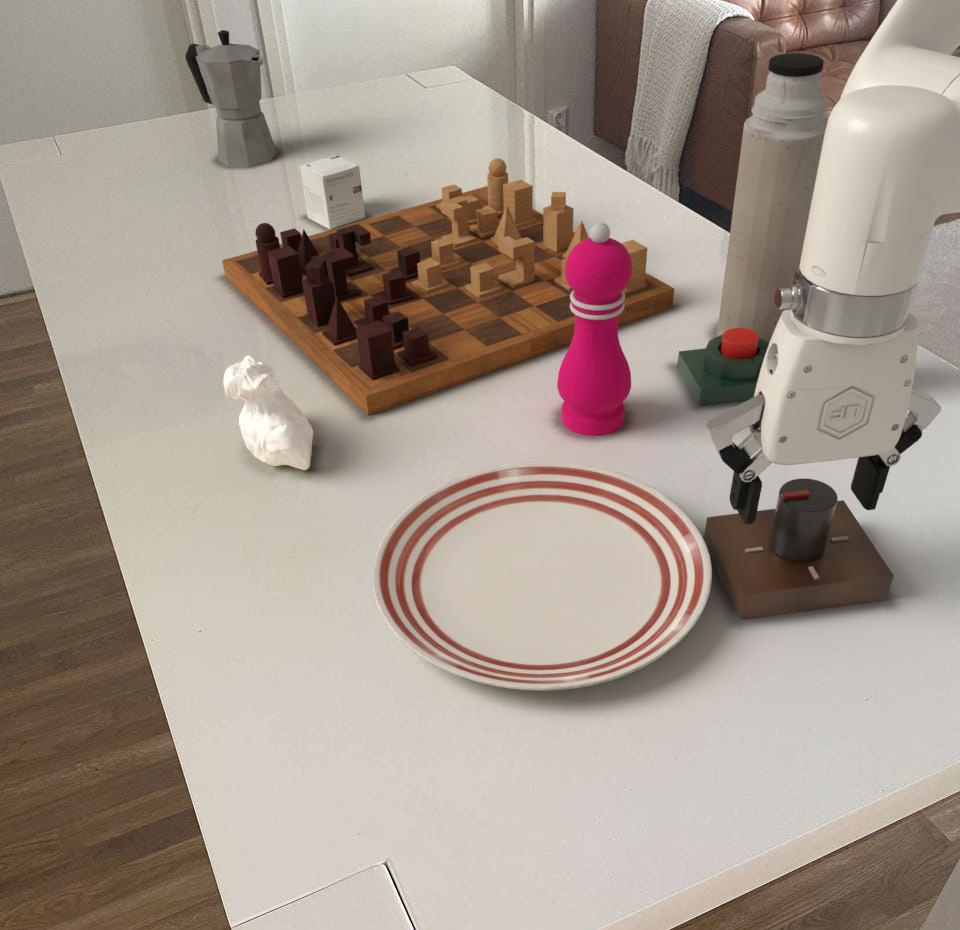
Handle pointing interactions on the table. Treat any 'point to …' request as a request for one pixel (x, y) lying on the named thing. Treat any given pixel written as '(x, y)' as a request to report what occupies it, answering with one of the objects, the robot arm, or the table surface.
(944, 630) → the table surface
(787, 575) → the panel
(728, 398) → the housing
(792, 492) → the knob
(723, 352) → the button
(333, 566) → the table surface
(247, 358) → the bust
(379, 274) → the gameboard
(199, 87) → the coffeepot
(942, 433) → the table surface
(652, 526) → the dinner plate
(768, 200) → the thermos bottle
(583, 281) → the pepper mill
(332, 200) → the white cardboard box
